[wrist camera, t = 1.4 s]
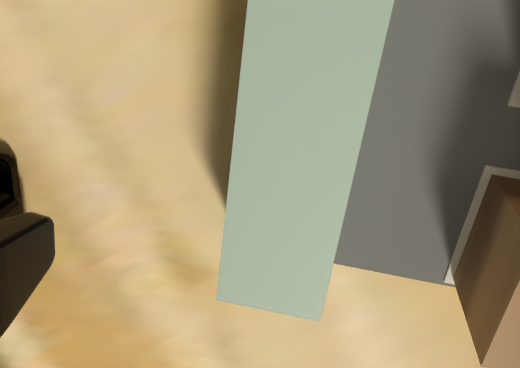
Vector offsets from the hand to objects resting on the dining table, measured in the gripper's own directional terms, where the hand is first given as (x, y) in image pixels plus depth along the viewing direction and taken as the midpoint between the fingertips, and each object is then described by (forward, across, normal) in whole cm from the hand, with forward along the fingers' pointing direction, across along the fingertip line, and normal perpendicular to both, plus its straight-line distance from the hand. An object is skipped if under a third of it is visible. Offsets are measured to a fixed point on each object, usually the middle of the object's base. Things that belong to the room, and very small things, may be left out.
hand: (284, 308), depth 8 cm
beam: (+12, +1, 0) cm, 12 cm away
